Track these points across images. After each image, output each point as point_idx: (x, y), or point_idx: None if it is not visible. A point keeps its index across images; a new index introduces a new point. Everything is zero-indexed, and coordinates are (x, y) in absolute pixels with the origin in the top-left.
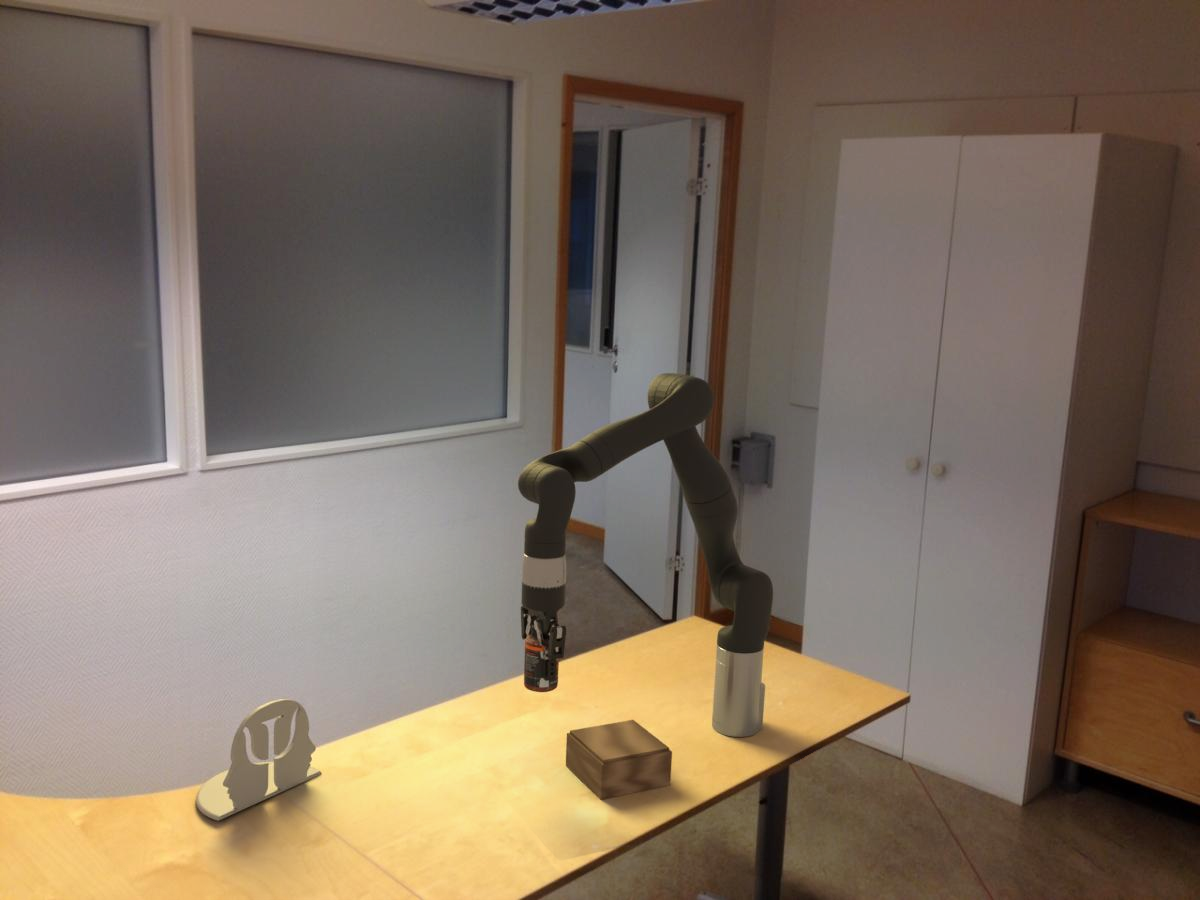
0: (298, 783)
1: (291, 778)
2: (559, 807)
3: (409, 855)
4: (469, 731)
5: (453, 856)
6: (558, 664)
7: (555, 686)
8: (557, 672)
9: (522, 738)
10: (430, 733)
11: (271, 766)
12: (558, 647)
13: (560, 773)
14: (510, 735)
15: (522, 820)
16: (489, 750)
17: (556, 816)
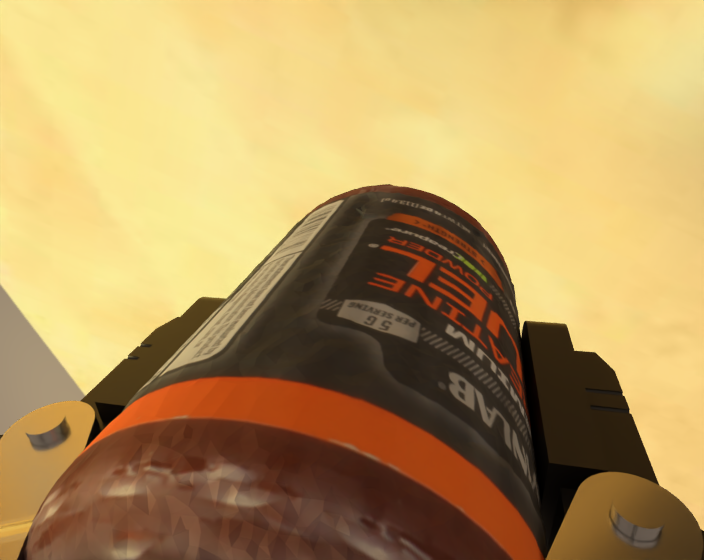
0: None
1: None
2: (602, 138)
3: None
4: (75, 185)
5: (666, 455)
6: (442, 279)
7: (493, 244)
8: (479, 272)
9: (129, 55)
10: (82, 274)
11: None
12: (469, 468)
13: (391, 34)
14: (106, 84)
15: (609, 266)
16: (191, 181)
17: (648, 172)
